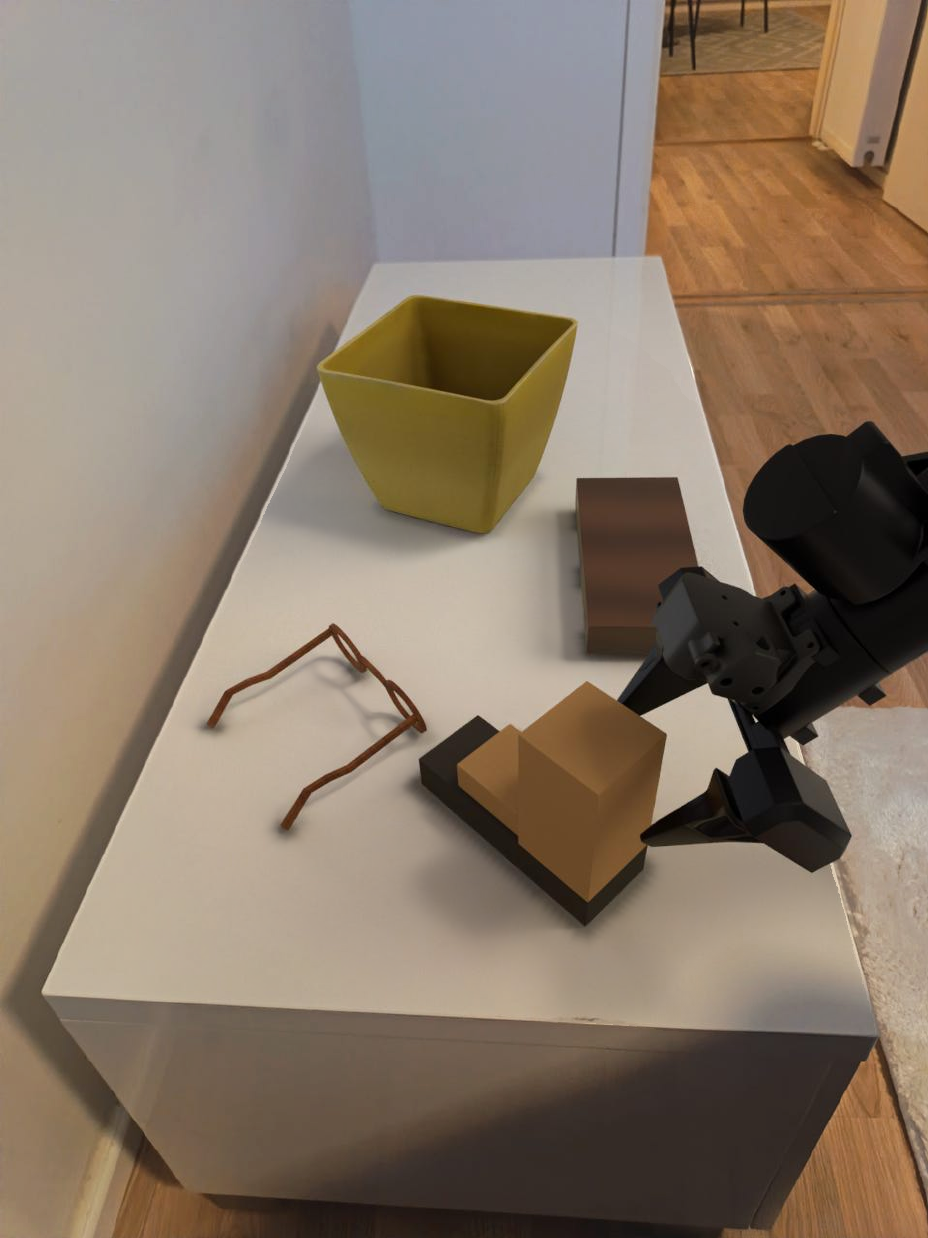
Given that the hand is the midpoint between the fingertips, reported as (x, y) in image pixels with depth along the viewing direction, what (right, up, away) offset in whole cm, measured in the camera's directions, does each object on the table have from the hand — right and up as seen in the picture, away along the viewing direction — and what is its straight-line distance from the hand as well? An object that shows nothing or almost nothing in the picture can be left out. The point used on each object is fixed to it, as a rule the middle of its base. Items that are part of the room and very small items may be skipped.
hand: (627, 776), depth 52 cm
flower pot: (-10, +23, +41) cm, 48 cm away
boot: (-5, -5, +9) cm, 12 cm away
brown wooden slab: (+6, +13, +29) cm, 32 cm away
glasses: (-21, 0, +17) cm, 27 cm away
